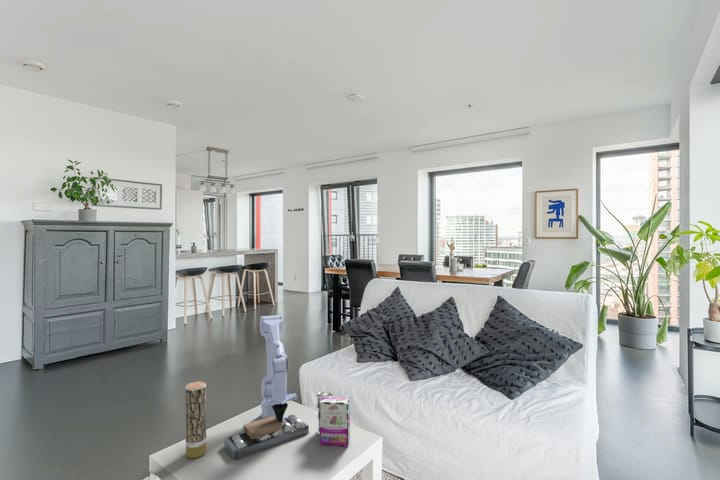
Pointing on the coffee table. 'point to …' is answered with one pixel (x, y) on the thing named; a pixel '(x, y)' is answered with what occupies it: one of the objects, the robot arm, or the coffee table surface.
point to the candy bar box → (335, 421)
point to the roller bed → (268, 438)
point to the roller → (238, 442)
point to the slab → (262, 427)
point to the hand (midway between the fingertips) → (279, 421)
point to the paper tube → (195, 419)
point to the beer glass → (318, 399)
